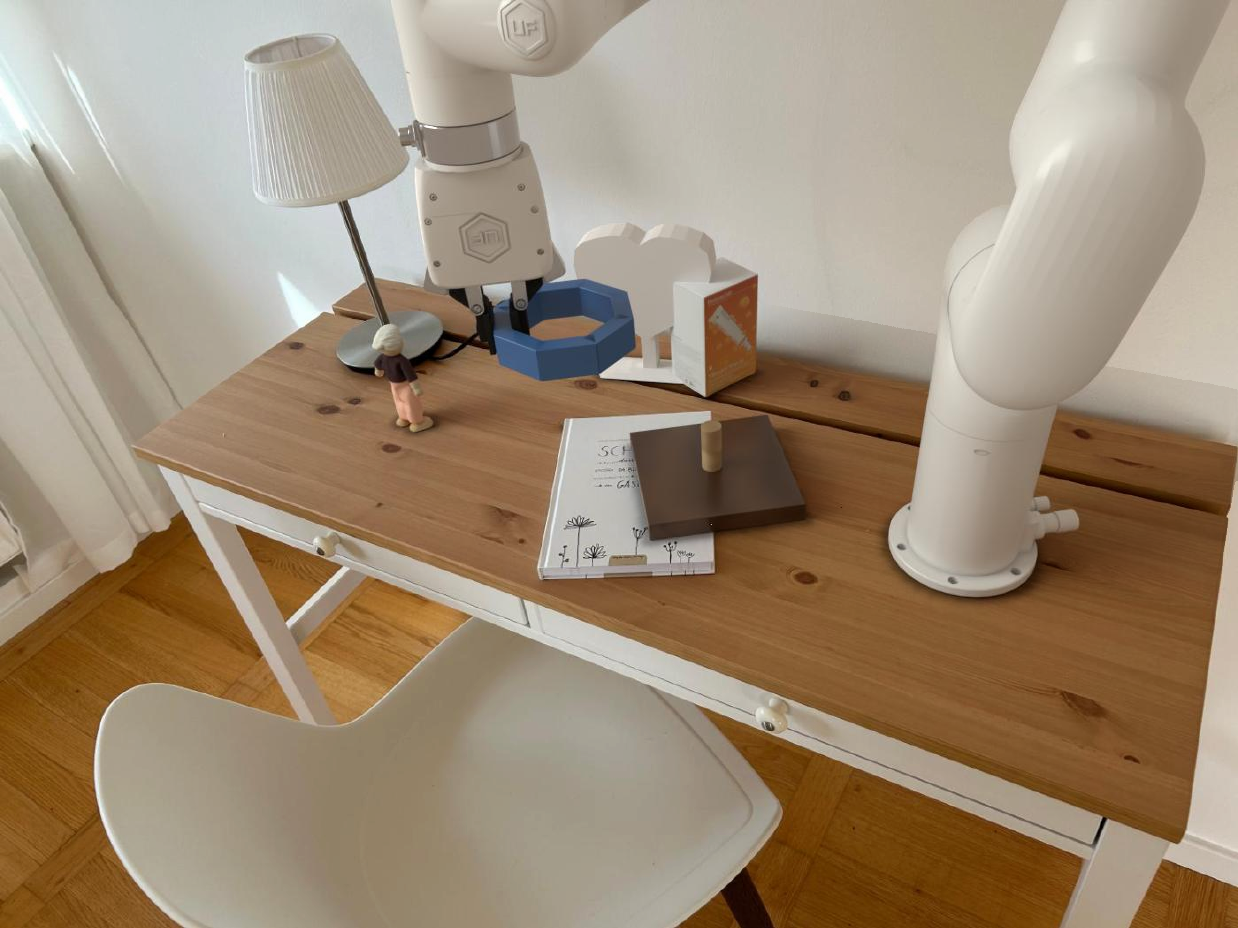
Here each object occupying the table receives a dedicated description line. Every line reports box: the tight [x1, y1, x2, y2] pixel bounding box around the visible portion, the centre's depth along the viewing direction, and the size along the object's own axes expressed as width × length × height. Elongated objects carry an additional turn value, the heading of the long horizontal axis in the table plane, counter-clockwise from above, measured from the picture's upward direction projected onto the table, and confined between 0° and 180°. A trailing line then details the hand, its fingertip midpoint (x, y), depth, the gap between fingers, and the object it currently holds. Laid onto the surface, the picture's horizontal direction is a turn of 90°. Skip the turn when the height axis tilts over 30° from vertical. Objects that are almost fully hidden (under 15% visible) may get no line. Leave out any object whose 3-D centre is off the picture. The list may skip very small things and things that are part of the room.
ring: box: [493, 278, 637, 382], centre depth 79 cm, size 12×12×3 cm
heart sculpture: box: [573, 222, 717, 385], centre depth 103 cm, size 16×5×18 cm, turn 75°
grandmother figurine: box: [371, 323, 434, 433], centre depth 101 cm, size 8×4×13 cm, turn 62°
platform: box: [629, 414, 807, 542], centre depth 90 cm, size 15×15×7 cm
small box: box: [669, 256, 759, 398], centre depth 103 cm, size 8×6×13 cm
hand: (506, 344), depth 80 cm, fingers closed on ring
